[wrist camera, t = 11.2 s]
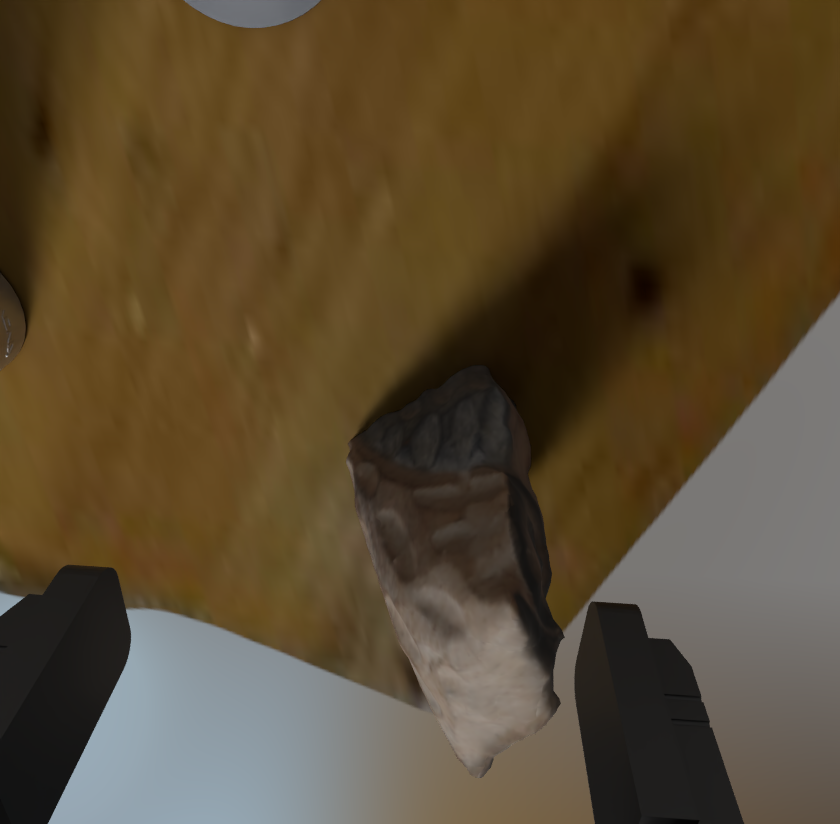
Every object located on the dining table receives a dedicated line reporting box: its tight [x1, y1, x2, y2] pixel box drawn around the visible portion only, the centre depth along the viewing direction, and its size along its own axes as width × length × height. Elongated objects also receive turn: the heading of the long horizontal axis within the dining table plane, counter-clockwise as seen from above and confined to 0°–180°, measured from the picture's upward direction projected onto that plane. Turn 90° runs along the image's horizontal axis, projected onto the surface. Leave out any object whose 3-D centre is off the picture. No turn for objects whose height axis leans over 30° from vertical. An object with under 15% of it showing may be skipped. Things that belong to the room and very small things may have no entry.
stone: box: [346, 365, 564, 778], centre depth 42 cm, size 13×13×20 cm
